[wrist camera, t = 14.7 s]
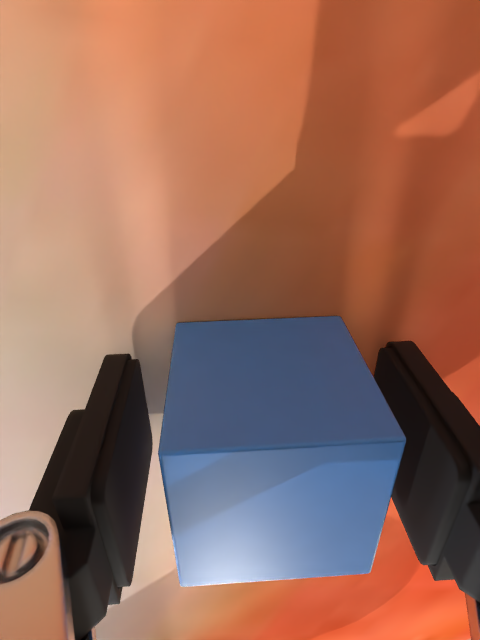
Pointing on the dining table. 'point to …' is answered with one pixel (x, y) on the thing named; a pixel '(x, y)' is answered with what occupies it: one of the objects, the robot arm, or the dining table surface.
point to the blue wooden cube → (274, 451)
